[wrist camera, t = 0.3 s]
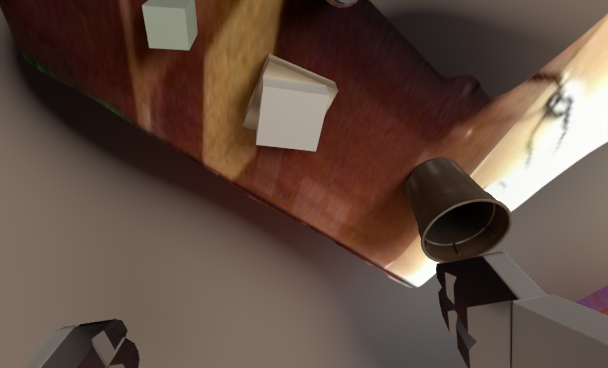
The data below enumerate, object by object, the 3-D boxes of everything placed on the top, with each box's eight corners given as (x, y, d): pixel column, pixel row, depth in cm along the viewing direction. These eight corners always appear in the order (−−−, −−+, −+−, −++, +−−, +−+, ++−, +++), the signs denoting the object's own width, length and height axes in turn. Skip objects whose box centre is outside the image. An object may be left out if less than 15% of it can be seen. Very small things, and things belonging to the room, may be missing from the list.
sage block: (157, -7, 48) (141, 5, 42) (194, -4, 49) (184, 8, 43) (162, 31, 51) (149, 47, 45) (197, 33, 52) (189, 50, 46)
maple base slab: (268, 52, 55) (269, 61, 52) (334, 81, 59) (338, 90, 56) (243, 115, 62) (242, 126, 58) (304, 137, 66) (306, 148, 63)
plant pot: (381, 175, 73) (407, 231, 60) (454, 133, 68) (498, 184, 55) (412, 218, 82) (441, 274, 69) (478, 184, 77) (522, 237, 64)
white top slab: (263, 75, 54) (263, 86, 50) (325, 85, 55) (329, 95, 52) (256, 132, 59) (256, 144, 56) (312, 139, 61) (315, 151, 58)
